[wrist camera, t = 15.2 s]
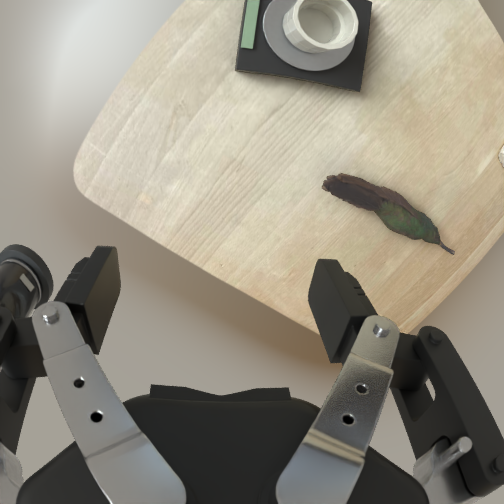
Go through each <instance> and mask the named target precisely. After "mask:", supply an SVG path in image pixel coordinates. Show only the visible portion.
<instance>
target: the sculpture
mask: <svg viewBox="0 0 504 504" xmlns="http://www.w3.org/2000/svg"><path fill="white" fill-rule="evenodd" d="M322 189H324V190H325V191H328V192H331V194H332V195H334V196H337V197H339V199H340V198H341V199H343V201H347V202H348V203H350V204H353V205H354V206H356V207H358V208H364V209H366V210H369V211H374V212H375V213H376V214H377V215H378V216H379V217H380V219H381V220H382V221H383V222H384V224H385V225H386V226H387V228H389V229H390V230H392V231H394V232H397V233H399V234H403V235H405V236H407V237H409V238H411V239H414V240H417V239H423V240H424V241H426V242H428V243H435V244H438V245H440V246H441V247H442V248H443V249H445V250H446V251H447V252H449V253H451V254H453V255H454V252H455V251H453V250H451V249H449V248H447V247H446V246H445V245H444V244H443V243H442V241H441V240H440V236H439V233H438V229H437V227H435V226H434V225H433V223H432V221H431V219H429V218H428V217H427V216H426V215H425V214H424V213H422V212H419V211H417V210H415V209H414V208H413V207H412V206H411V205H410V204H409V203H408V202H407V201H406V200H405V199H404V198H403V197H402V196H401V195H400V194H398V193H397V192H394V191H392V190H390V189H387V188H385V187H384V186H383V187H381V188H380V187H378V186H375V185H373V184H370V183H369V182H366V181H365V180H363V179H361V178H358V177H354V176H350V175H347V174H343V173H341V174H338V176H335V175H332V176H327V180H324V183H323V186H322Z"/></svg>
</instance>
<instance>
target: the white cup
mask: <svg viewBox="0 0 504 504" xmlns="http://www.w3.org/2000/svg"><path fill="white" fill-rule="evenodd" d="M283 29H284V32H285V35H286V37H287V38H288V40H289V41H290V42H291V43H292V45H294V46H295V47H297V48H299V49H300V50H302V51H304V52H309V53H315V54H316V53H322V52H327V51H331V50H335V49H339V48H342V47H344V46H346V45H347V44H349V43H351V42H352V40H353V39H354V37H355V36H356V34H357V31H358V19H357V15H356V12H355V10H354V9H353V7H352V6H351V5H350V3H349V2H348V1H347V0H297V1H296V2H295V3H294V4H293V5H292V6H291V7H290V8H289V9H288V11H287V12H286V14H285V15H284V19H283Z"/></svg>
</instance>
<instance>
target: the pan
mask: <svg viewBox="0 0 504 504" xmlns="http://www.w3.org/2000/svg"><path fill="white" fill-rule="evenodd" d="M296 1H297V0H272V2H271V3H270V4H269V5H268V7H267V9H266V11H265V13H264V16H263V20H262V30H263V35H264V38H265V41H266V43H267V45H268V47H269V48H270V50H271V51H272V52H273V53H274V54H275V55H276V56H277V57H278V58H279V59H280V60H281V61H283V62H284V63H286V64H288V65H290V66H292V67H294V68H297V69H301V70H306V71H320V70H326V69H330V68H332V67H335V66H336V65H338V64H340V63H341V62H342V61H344V60H345V59H346V58H347V56H348V55H349V54H350V52H351V50H352V48H353V45H354V41H355V37H354V39H353V40H352V42H351V43H349V44H347V45H346V46H344V47H342V48H339V49H335V50H331V51H327V52H322V53H316V54H315V53H309V52H304V51H302V50H300V49H299V48H297V47H295V46H294V45H292V43H291V42H290V41H289V40H288V38H287V37H286V35H285V32H284V29H283V19H284V15H285V14H286V12H287V11H288V9H289V8H290V7H291V6H292V5H293V4H294V3H295V2H296Z"/></svg>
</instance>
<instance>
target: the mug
mask: <svg viewBox="0 0 504 504" xmlns="http://www.w3.org/2000/svg"><path fill="white" fill-rule="evenodd" d="M498 157H499V160H500V162H501V164H502V165H503V167H504V145H503V147H502V149H501V151H500V153H499V155H498Z"/></svg>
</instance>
